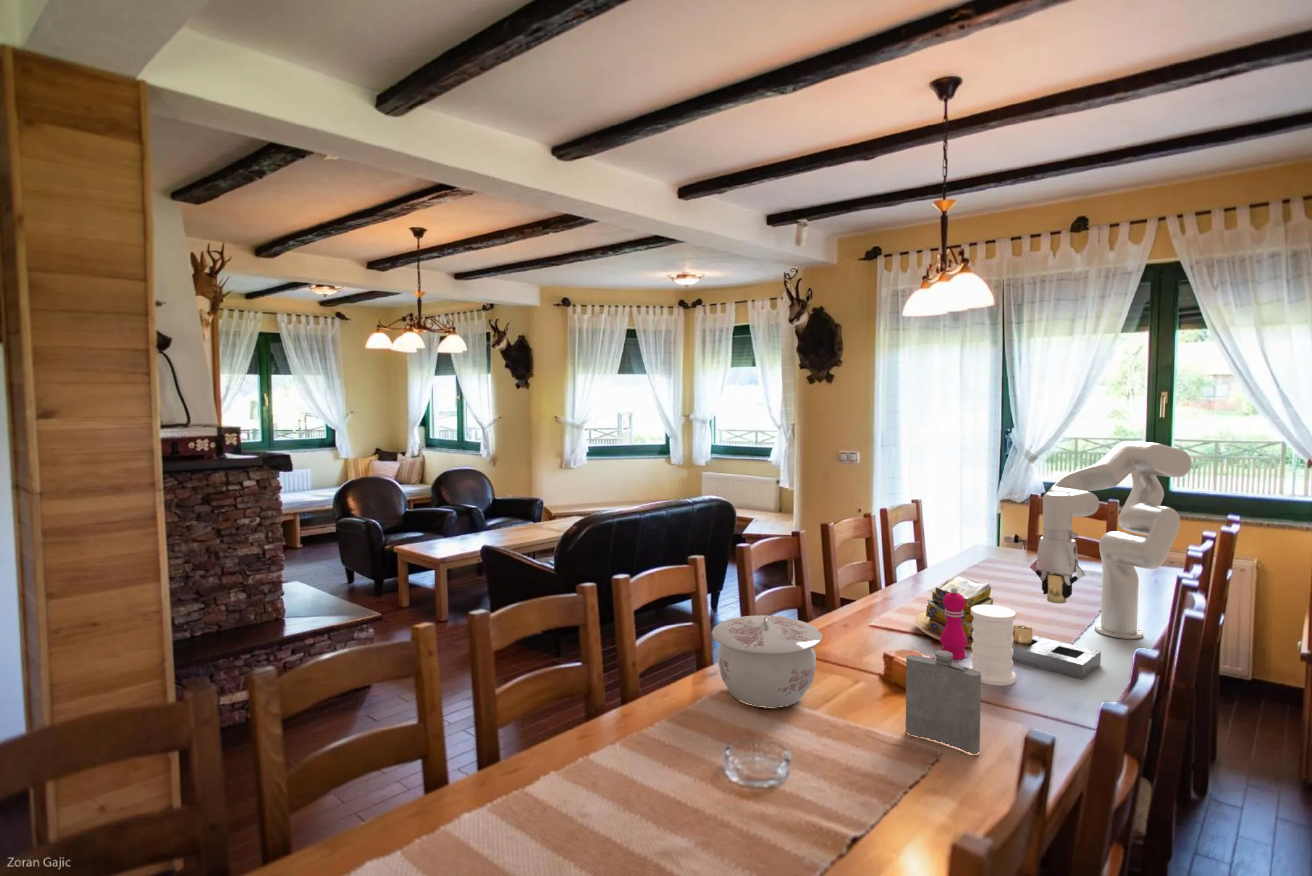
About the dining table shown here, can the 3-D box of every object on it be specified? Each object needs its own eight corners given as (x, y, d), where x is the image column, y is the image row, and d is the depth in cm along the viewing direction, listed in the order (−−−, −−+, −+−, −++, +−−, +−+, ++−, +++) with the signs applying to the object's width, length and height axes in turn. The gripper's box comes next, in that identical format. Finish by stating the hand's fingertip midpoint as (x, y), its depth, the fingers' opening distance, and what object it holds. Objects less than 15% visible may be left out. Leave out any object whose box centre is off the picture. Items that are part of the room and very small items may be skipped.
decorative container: (969, 682, 189) (970, 615, 188) (966, 666, 200) (967, 602, 199) (1018, 688, 185) (1020, 619, 184) (1013, 671, 196) (1014, 606, 195)
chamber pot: (753, 732, 164) (752, 643, 162) (692, 688, 188) (691, 610, 186) (847, 706, 176) (848, 623, 175) (778, 667, 201) (778, 594, 199)
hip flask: (903, 733, 162) (904, 647, 161) (910, 727, 165) (911, 642, 164) (976, 757, 151) (978, 665, 150) (983, 750, 154) (984, 659, 153)
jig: (1010, 643, 217) (1011, 617, 216) (1100, 665, 199) (1101, 637, 198) (990, 655, 208) (990, 627, 207) (1082, 679, 190) (1083, 650, 189)
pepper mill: (969, 661, 203) (970, 591, 202) (942, 659, 205) (943, 590, 203) (964, 652, 210) (965, 584, 209) (937, 650, 212) (938, 583, 210)
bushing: (1050, 597, 216) (1051, 571, 215) (1069, 600, 212) (1069, 574, 212) (1044, 601, 213) (1044, 574, 212) (1062, 604, 209) (1062, 577, 208)
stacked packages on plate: (1019, 640, 219) (1020, 586, 218) (958, 653, 209) (959, 597, 208) (955, 617, 242) (955, 568, 241) (898, 628, 232) (898, 577, 231)
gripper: (1094, 536, 207) (1093, 598, 208) (1031, 528, 220) (1031, 587, 221) (1084, 541, 202) (1084, 604, 204) (1021, 532, 215) (1021, 592, 216)
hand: (1056, 594), depth 212 cm, fingers closed on bushing, 5 cm apart
